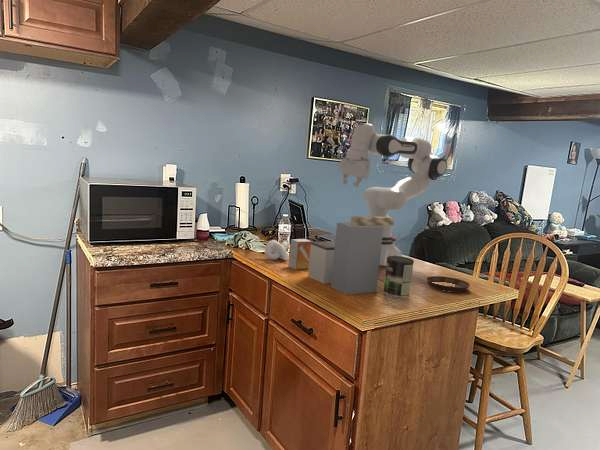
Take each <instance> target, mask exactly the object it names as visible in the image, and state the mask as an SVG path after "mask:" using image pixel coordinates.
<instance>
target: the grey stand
mask: <svg viewBox="0 0 600 450" xmlns="http://www.w3.org/2000/svg"><path fill="white" fill-rule="evenodd" d="M335 229H336V230H335V240H334V241H335V250H334V261H333V272H332V282H331V283H330V284H331V285H330V287H331V288H332V289H334V290H336V291H338V292H339V293H342V294H344V295H355V294H366V293H367V294H368V293H375V292H377V290H378V282H379V281H378V280H379V279H378V278H379V274H380V273H379V272H380V265H379V263H380V254H381V245H382V235H383V227H382V226H378V225H364V226H355V225H352V224H350V222H336V228H335Z"/></svg>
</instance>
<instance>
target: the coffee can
mask: <svg viewBox="0 0 600 450" xmlns="http://www.w3.org/2000/svg"><path fill="white" fill-rule="evenodd" d="M414 263H415V261H414V259H412V258H410V257H405V256H402V257H401V256H389V257H387V265H386V266H385V276H384V283H383V284H384V285H383V290H382V291H383V294H385V295H387V296H390V297H393V298H399V299H401V298H402V299H405V298H408V297H410V293H411V285H412V284H411V283H412V278H413V270H414Z"/></svg>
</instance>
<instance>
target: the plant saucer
mask: <svg viewBox="0 0 600 450" xmlns="http://www.w3.org/2000/svg"><path fill="white" fill-rule="evenodd" d="M426 281H427V283H428V284H429V286H430V287H431V286H432V287H431V288H433V287H434V288H433V289H435V288H437V289H436V290H438V289H440V290H439V291H442V290H445V291H444V292H447V291H451V292H450V293H462V291H463V292H465V291H467V289H468V288H469V287H470V286H471V284H470V283H469V282H467V281H465V280H463V279H459V278H457V277H456V278H454V277H449V276H440V275H439V276H438V275H436V276H435V275H433V276H428V277H427V278H426ZM432 282H447V283H452V284H455V287H453V286H444V285H439V284H435V283H432Z"/></svg>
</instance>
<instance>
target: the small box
mask: <svg viewBox="0 0 600 450" xmlns="http://www.w3.org/2000/svg"><path fill="white" fill-rule="evenodd" d="M311 242H313V241H312V240H309V239H306V238H296V239H294V238H293V239H292V238H291V239H290V245H289V246H290V247H289V259H288V267H289V268H291V269H293V270H304V269H308V270H309V261H310V249H311Z"/></svg>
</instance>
